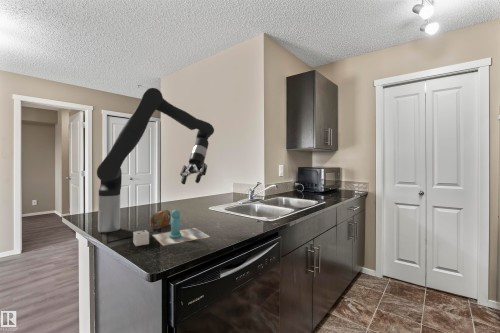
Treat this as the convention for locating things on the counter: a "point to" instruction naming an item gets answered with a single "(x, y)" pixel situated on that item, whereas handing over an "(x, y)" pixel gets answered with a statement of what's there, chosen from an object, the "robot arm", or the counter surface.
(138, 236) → the die
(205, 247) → the counter surface
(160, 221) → the mottled brown slab
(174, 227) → the pawn
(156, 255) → the counter surface
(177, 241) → the board
